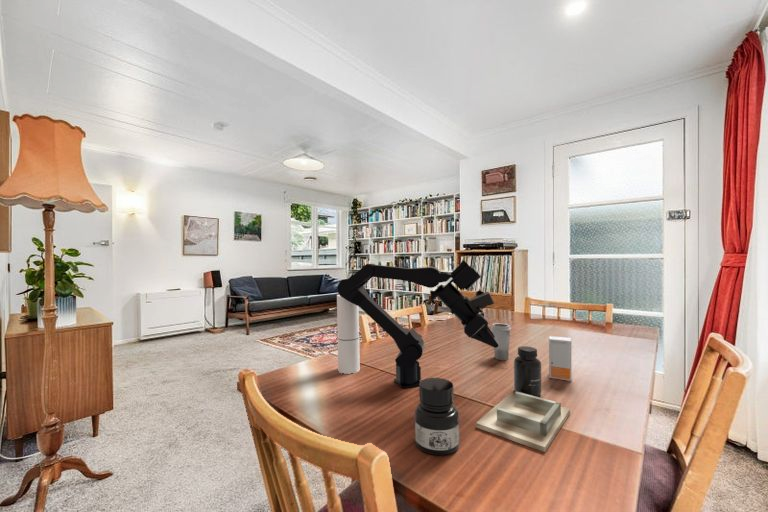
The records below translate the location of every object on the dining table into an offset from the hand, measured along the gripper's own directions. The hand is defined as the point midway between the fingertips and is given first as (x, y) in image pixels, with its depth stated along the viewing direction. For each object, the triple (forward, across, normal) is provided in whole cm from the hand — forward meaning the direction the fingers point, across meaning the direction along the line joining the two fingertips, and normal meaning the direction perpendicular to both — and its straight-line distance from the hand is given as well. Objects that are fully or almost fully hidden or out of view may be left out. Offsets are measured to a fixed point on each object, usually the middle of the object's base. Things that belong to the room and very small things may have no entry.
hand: (495, 342), depth 91 cm
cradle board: (+13, -16, +6) cm, 21 cm away
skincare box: (+24, +12, -5) cm, 27 cm away
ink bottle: (0, -29, +20) cm, 35 cm away
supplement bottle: (+15, 0, +3) cm, 16 cm away
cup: (+13, +29, +6) cm, 32 cm away
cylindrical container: (-22, +8, +42) cm, 48 cm away
